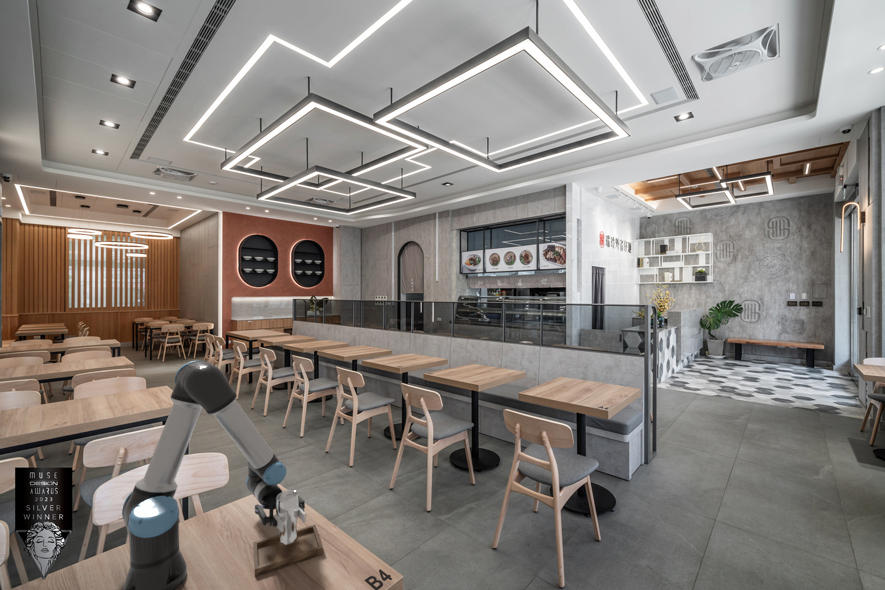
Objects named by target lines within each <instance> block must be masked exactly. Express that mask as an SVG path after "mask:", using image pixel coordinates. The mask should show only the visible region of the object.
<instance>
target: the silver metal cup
mask: <svg viewBox="0 0 885 590" xmlns="http://www.w3.org/2000/svg"><path fill="white" fill-rule="evenodd" d="M298 494H299V493H298V491H297V490H295V489H288V490H284V491H283V490H282V492H281V493H280V494H278V495H277V497H276V509H275V514H276V515H277V517H279V518H280V519H281V521H282V522H283V523H284V532H282V533H281V531H280V530H279V529H278V530H279V534H278V535H279V540H278V542H279V544H280V545H282V546H287V545H291V544H293V543H294V542H296V541H297V539H298V533H297V530H298V529H297V528H298V527H297V524H298V519H299V517H298V511H299V501H298V496H299V495H298Z"/></svg>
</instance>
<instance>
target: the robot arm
mask: <svg viewBox="0 0 885 590" xmlns="http://www.w3.org/2000/svg"><path fill="white" fill-rule="evenodd" d="M174 383H175V385H174V387H173V389H172V391H171V392H172V393H171V394H170V400H171V401H172V407H171V409H170V412H169V415H168V417H167V419H166V421H165V424H164V426H163V429H162V432H161V433H160V436H159V439H158V441H157V443H156V446H155V450H154V452H153V455H152V456H151V459H150V461H149V464H148V466H147V469H146V472H145V474H144V477H143V478H141V479H140V480H138V481H136V483H135V484H134V487H133V489H132V491H131V492H130V493H129V494H128V496H127V497H125V501H124V503H123V506H122V509H121V515H122V518H123V522H124V525H125V528H126V531H127V535H128V539H129V540H128V541H129V562H130V563H129V565H130V567H129V568H128V571H127V574H126V578H125V580H124V584H123V586H122V590H173V589H174V590H175V589H177V587H179V586H180V585H181V584H182V583H183V582H184V581H185V579H186V577H187V573H188V572H187V571H188V568H187V567H188V566H187V562H186V560H185V558H184V556H183V554H182V551H181V550H180V530H179V528H180V527H179V524H180V520H179V518H180V517H179V516H180V508H179V504H178V501H177V500H176V498H174V497H175V494H176V491H177V490H178V484H177V482H176V478H177V475H178V472H179V469H180V467H181V464H182V461H183V459H184V456H185V453H186V451H187V449H188V446H189V444H190V441H191V438H192V436H193V433H194V430H195V427H196V425H197V422H198V419H199V417H200V415H201V412H202V409H203V410H204V411H205V412H206V414H208V415H210V416H213V417H214V418H215V419H216V420H217V422H218V423H219V424H220V426H221V427H222V428H223V429H224V431H225V432H226V433H227V435H228V436H229V437H230V439H231V440H232V441H233V442H234V444H235V446H237V448H238V449H239V450H240V452H241V454H243V456H244V458H245V459H246V462H247V472H248V475H247V477H246V480H245V485H246V487H247V489H248V491H249V492H250V493H251V494H252V495H253V497H254V498H255V500H257V501H258V503H259V504H257V503H256V504H255V505H254V513H255V515H258V517H259V519H260V521H261V524H262V525H263V526H266V525H267V524H269V527H274V528H275V527H276V528H277V529H278V530H280V531H281V533H282V532H284V523H283V522H282V521H281V519H280V518H279V517H277V515H276V513H274V510H276V497H277V495H278V494H280V493H281V492H283V490H282V489H281V488H280V486H279V484H280V483H282V482H283V480H284V479H285V477H286V476H287V467H286V466H285V464H284V463H283V462H282V461H280V460H279V458H278V457H277V455H276V454H275V453H274V451H273V450H272V448H271V447H270V446H269V444H268V443H267V442H266V440H265V438H264V437H263V435H262V434H261V433H260V431H259V429H257V427H256V426H255V425H254V423H253V421H252V420H251V419H250V418H249V416H248V415H247V414H246V412H245V410H244V409H243V408H242V406H241V405H240V403H239V402H238V401H237V398H238V395H237V394H236V392H235V390H234V389H233V387H232V385H231V384H230V381H228V379H227V377H226V375H225V374H224V372H223V371H222V370H221V368H219V367H217V366H215V365H213V364H212V363H211V362H207V361H204V360H192V361H188V362H186V363H184V364H183V365H181V366H180V367H179V369H178V370H177V371H176V373H175V377H174ZM298 501H299V511H298V519H300V521H302V523H306V521H307V518H306V517H307V516H306V515H307V514H306V512H305V509H306V505H305V504H306V503H305V502H306V501H305V500H304V499H303V498H301V497H300V496H299V495H298ZM264 509H265V510H269V511H268V512H269V513H268V514H269V515H268V516H267V514H266V512H265V510H264Z"/></svg>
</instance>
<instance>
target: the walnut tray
mask: <svg viewBox="0 0 885 590" xmlns="http://www.w3.org/2000/svg"><path fill="white" fill-rule="evenodd" d="M297 533H298V539H297V541H296V542H294V543H293V544H291V545H287V546H282V545H280V544H279V542H278V540H279V534H277V535H274V536H270V537H267V538H263V539H260V540H257V541H253V543H252V544H253V563H254V577H258V576H261V575H265V574H267V573H270V572H273V571H277V570H280V569H283V568H285V567H289V566H292V565H295V564H298V563H301V562H304V561H308V560H311V559H313V558H315V557H320V556H323V555H324V552H323V551H324V547H323V545H322V541H321V538H320V535H319V532H318V528H317V524H312V525H309V526H306V527H301V528H298V529H297Z"/></svg>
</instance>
